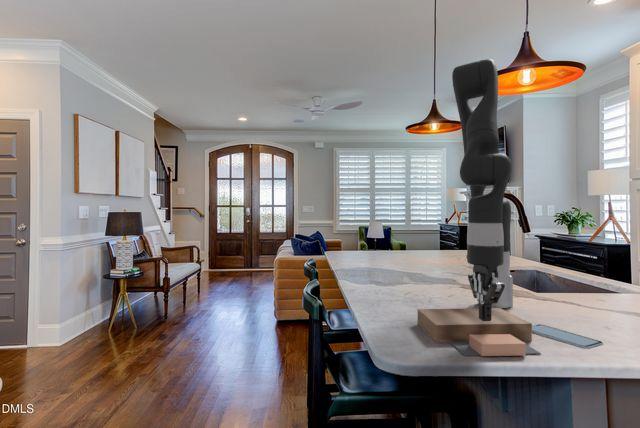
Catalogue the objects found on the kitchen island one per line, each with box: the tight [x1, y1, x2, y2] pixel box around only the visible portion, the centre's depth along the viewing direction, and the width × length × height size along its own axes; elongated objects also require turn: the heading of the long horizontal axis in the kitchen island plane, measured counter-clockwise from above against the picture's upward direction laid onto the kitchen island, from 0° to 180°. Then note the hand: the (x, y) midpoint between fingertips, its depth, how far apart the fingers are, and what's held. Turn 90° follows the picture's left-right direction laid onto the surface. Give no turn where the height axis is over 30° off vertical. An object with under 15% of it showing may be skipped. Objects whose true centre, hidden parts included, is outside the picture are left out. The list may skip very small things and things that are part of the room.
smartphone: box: [532, 323, 604, 349], centre depth 90 cm, size 7×1×15 cm
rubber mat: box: [449, 342, 542, 357], centre depth 82 cm, size 16×8×1 cm, turn 93°
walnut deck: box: [417, 307, 533, 344], centre depth 93 cm, size 22×14×4 cm, turn 93°
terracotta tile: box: [469, 334, 527, 357], centre depth 80 cm, size 9×6×2 cm, turn 92°
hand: (485, 320), depth 85 cm, fingers closed
